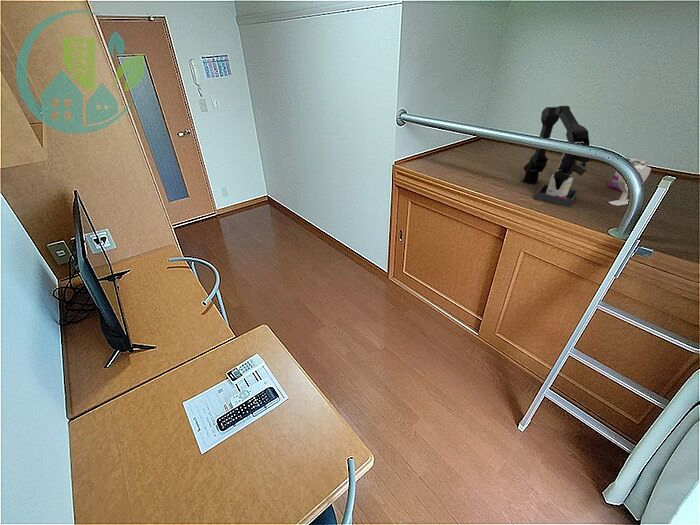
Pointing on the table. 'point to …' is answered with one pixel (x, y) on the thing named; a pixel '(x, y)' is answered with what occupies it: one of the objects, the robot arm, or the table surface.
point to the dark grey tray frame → (555, 199)
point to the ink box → (562, 190)
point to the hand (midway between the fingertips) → (558, 187)
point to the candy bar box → (616, 176)
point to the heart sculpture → (622, 184)
